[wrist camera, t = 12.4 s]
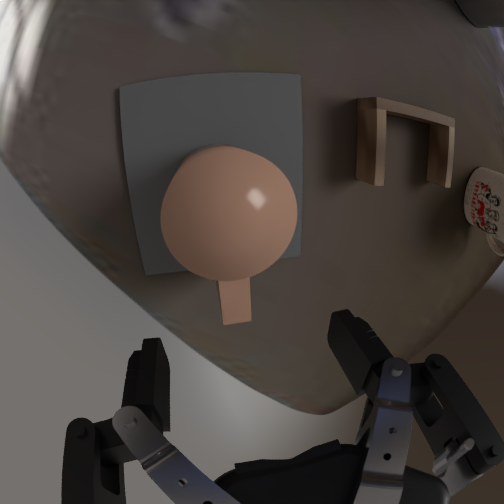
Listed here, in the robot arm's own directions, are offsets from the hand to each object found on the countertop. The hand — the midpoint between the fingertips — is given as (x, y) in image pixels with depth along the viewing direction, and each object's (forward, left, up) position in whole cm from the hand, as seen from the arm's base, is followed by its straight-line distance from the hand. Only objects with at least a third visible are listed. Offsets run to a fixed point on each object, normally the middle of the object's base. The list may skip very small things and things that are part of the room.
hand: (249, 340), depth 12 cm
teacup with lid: (-1, +36, -13) cm, 38 cm away
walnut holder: (-8, +18, -12) cm, 23 cm away
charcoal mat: (-5, 0, -12) cm, 14 cm away
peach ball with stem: (-3, 0, -12) cm, 12 cm away
